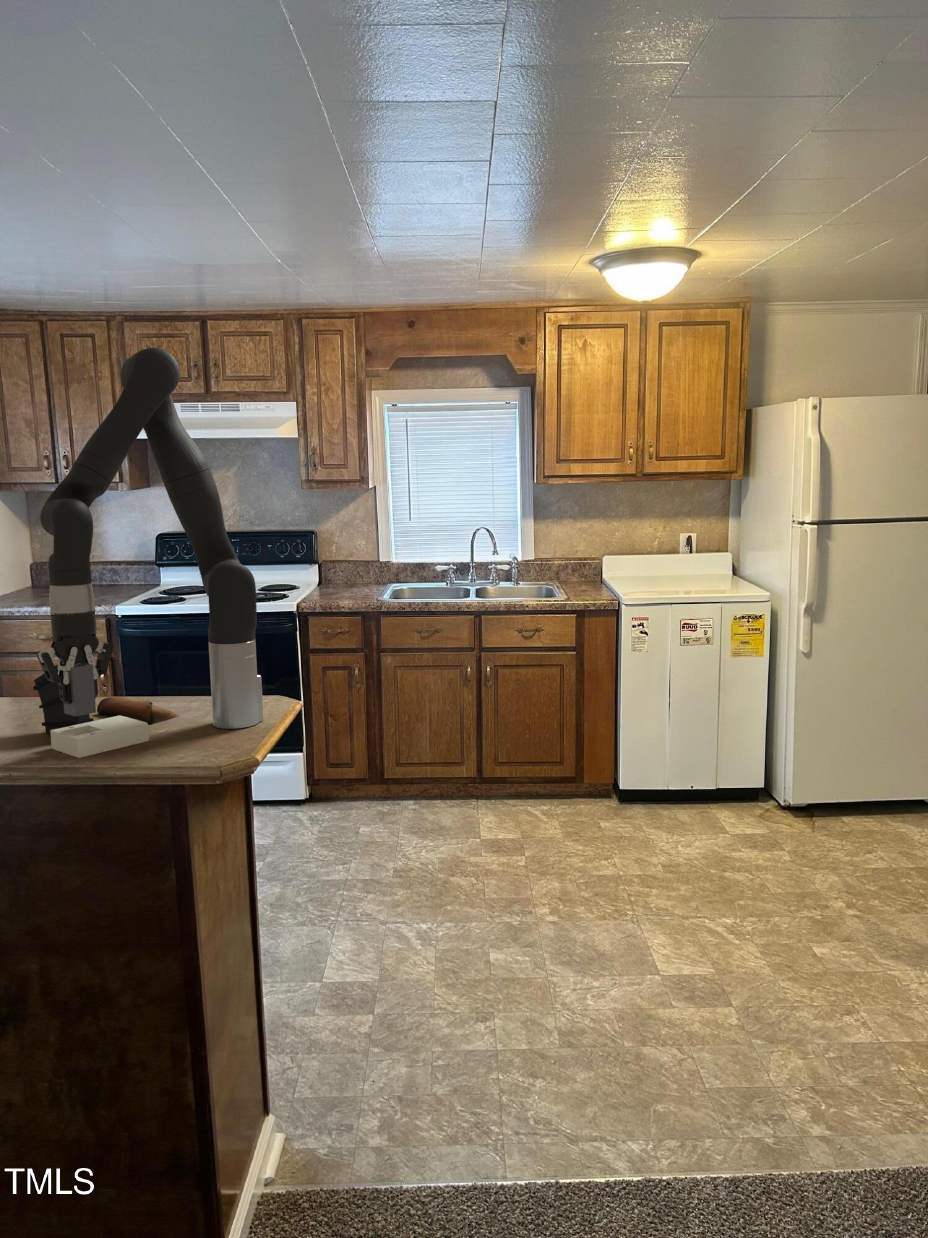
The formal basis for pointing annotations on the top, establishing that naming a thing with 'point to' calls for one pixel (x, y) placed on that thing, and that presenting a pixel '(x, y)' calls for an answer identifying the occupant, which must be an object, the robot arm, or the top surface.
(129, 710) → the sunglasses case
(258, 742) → the top surface
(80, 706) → the grey rectangular block
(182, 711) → the top surface
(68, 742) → the switch board
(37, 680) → the magazine
